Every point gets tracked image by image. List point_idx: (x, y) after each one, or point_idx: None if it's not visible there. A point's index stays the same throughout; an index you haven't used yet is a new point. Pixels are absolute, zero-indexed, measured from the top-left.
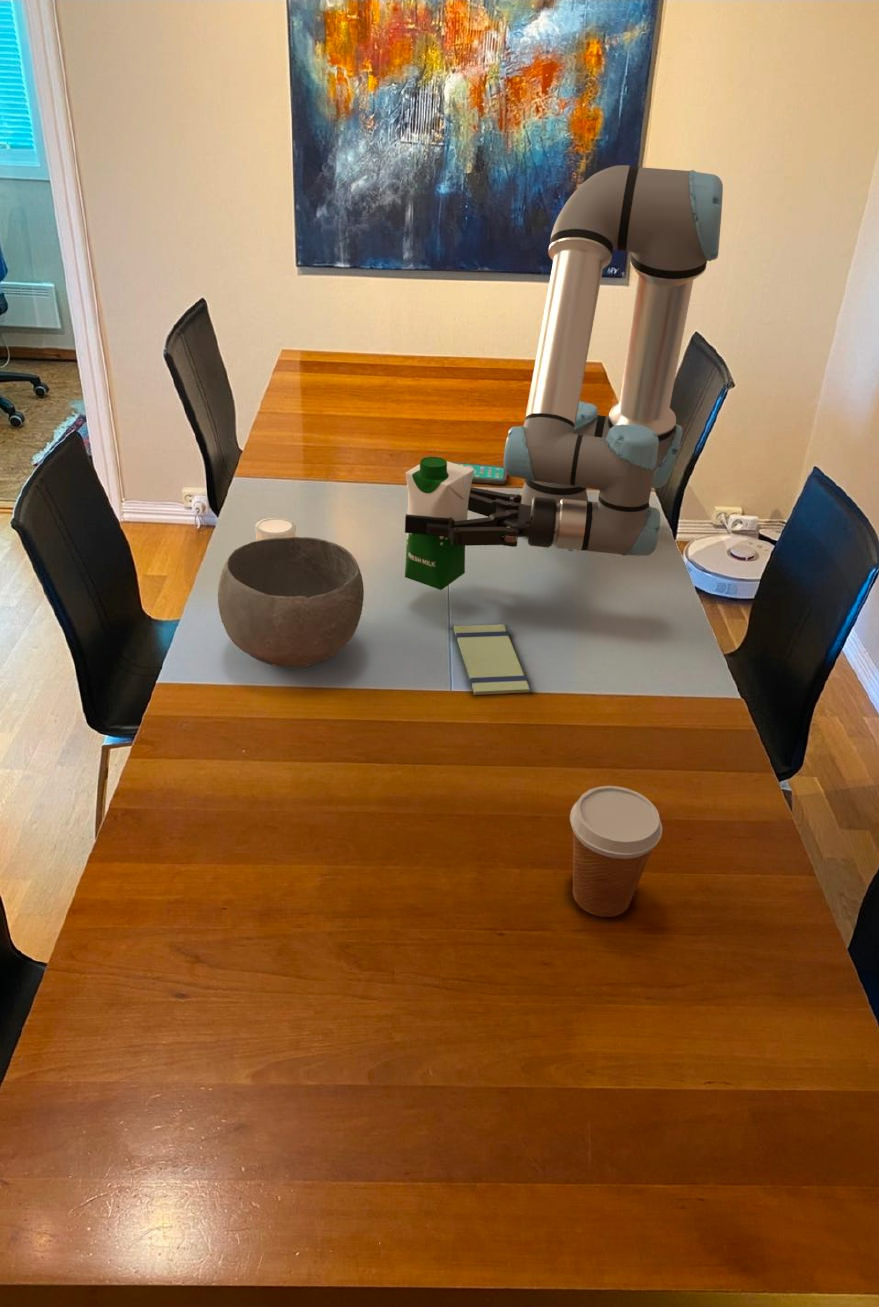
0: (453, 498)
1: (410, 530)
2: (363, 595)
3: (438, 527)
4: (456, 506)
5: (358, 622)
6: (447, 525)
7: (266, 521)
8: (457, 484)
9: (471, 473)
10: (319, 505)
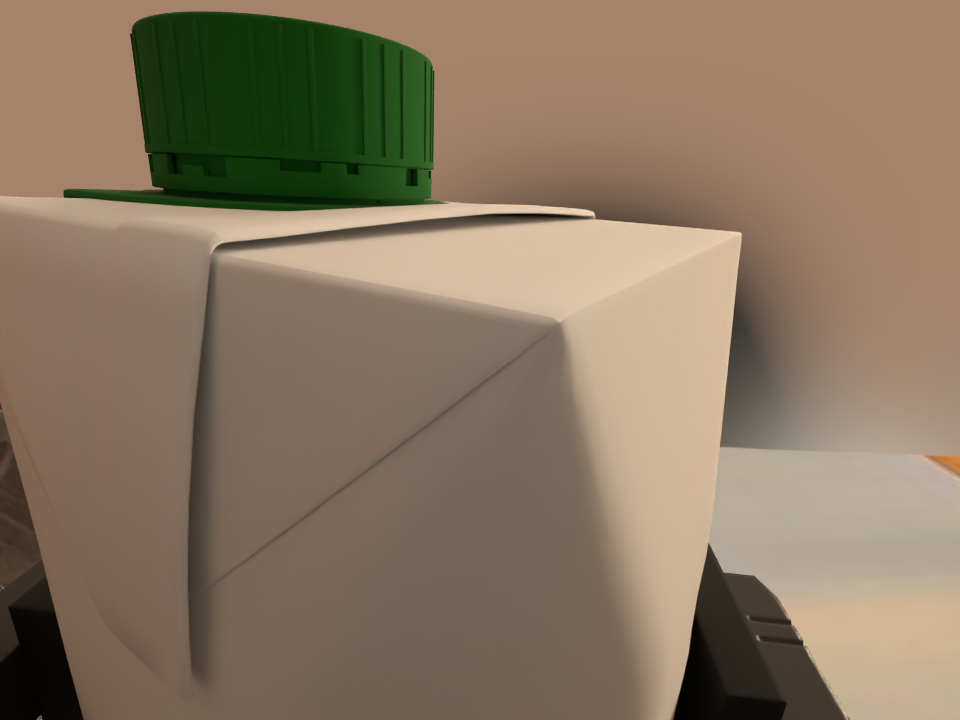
0: (19, 439)
1: None
2: (24, 510)
3: (32, 572)
4: (53, 579)
5: (19, 572)
6: (2, 632)
7: None
8: (23, 287)
9: (386, 346)
10: (953, 563)
